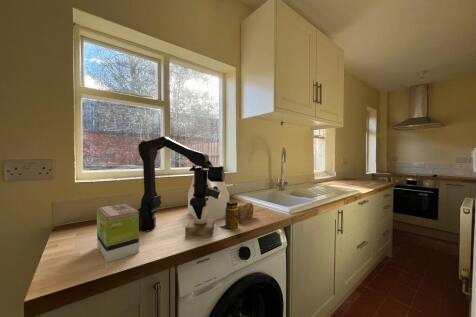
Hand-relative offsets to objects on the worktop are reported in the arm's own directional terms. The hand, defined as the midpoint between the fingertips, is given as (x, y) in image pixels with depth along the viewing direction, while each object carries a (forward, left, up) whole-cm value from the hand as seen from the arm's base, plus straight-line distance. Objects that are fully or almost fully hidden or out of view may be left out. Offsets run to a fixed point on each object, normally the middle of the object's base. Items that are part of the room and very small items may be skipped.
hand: (200, 217), depth 90 cm
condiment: (+13, +5, -7) cm, 16 cm away
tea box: (-27, -16, -7) cm, 32 cm away
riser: (0, 0, -7) cm, 7 cm away
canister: (0, 0, -2) cm, 2 cm away
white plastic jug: (+1, +27, -7) cm, 28 cm away
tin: (+21, +17, -7) cm, 28 cm away
